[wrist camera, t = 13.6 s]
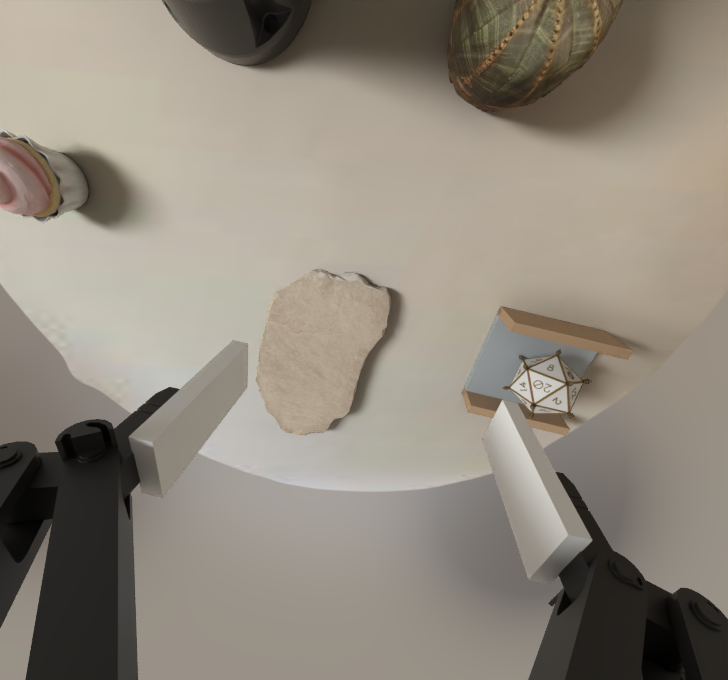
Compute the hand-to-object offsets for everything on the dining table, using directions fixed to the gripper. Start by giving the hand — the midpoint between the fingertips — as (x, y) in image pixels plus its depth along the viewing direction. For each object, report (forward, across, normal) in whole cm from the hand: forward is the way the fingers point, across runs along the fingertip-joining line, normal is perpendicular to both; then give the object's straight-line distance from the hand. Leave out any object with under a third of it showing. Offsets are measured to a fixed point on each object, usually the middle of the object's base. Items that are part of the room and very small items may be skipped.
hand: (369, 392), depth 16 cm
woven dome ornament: (+27, +6, +22) cm, 35 cm away
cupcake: (+27, -42, +2) cm, 50 cm away
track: (+26, +22, -9) cm, 36 cm away
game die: (+25, +23, -9) cm, 35 cm away
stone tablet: (+27, -8, -16) cm, 32 cm away
